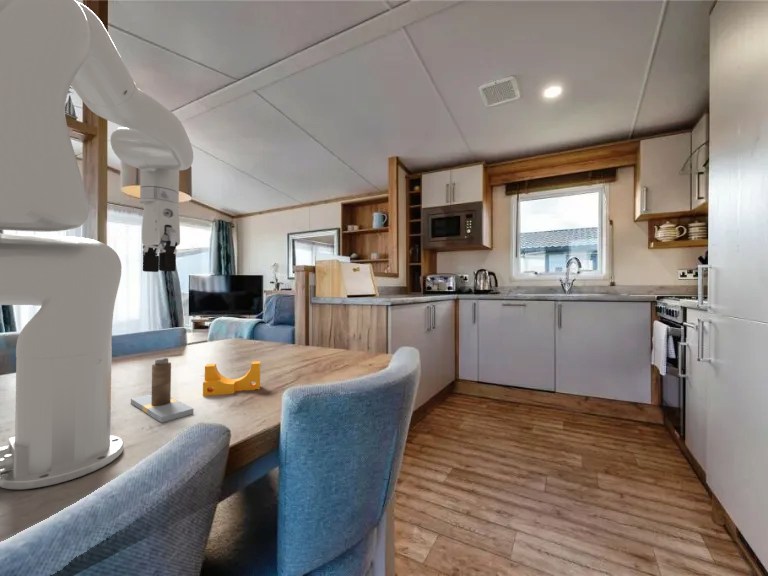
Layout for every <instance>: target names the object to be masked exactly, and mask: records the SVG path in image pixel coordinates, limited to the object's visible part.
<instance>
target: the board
mask: <svg viewBox="0 0 768 576" xmlns="http://www.w3.org/2000/svg"><path fill="white" fill-rule="evenodd" d="M151 401H152V393H151V394H150V393H149V394H146V395H145V394H144V395H141V396H137V397H136V396H135V397H131V398H130V404H131V405H133V406H134V407H136V408H138V409H140V410H141V411H142V412H144V413H145V414H147V415H148V416H150V417H152V418H153V419H154V420H156V421H158V422H159V423H161V424H162V423H165V422H166V423H167V422H169V421H172V420H176V419H179V418H182V417H187V416H190V415H194V408H193V407H192V406H190V405H187V404H186V403H183V402H181V401H179V400H178V399H175V398H173V397H171V400H170V403H169V404H166V405H162V406H152V405H151Z"/></svg>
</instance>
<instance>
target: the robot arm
mask: <svg viewBox="0 0 768 576" xmlns="http://www.w3.org/2000/svg"><path fill="white" fill-rule="evenodd" d="M70 87H71V88H72V89H73V90H74V91H75V93H76V94H77V96H79V98H80V99H81V101H82V102H83V104H85V106H86V107H87V108H88V109H89V110H90V111H91V112H92V113H94V114H95V115H96V116H98V117H100V118H102V119H104V120H106V121H109V122H111V123H112V124H113V123H114V124H116V125H118V126H121V127H118V128H116V129H115V130H113V131H112V133H111V135H110V145H111V149H112V151H113V153H114V154H115V155H116V157H117V158H118V159H119V160H120V161H122V163H125V164H126V165H129V166H130V167H134V168H136V169H139V170H140V180H139V181H140V189H139V191H140V192H139V203H140V204H141V205H143V211H142V223H141V224H142V225H141V242H142V249H143V250H142V271H143V272H147V273H149V272H150V273H158V272H159V271H160V272H176V270H177V269H176V268H177V266H176V265H177V264H176V263H177V247H179V245H180V244H181V228H180V214H179V204H180V203H179V201H180V194H179V193H180V171H185V170H188V169H189V168H191V166H192V164H193V162H194V150H193V146H192V144H191V141H190V138H189V136H188V134H187V132H186V130H185V127H184V124H183V123H182V122H181V120H180V118H179V117H177V116H176V115H175V113H173V112H172V111H171V110H169V109H168V108H167V107H166V106H164V105H163V104H162V103H160V101H158V100H156V99H155V98H153V97H152V96H150V95H149V94H147V93H146V92H145V91H143V90H142V89H140V88H138V86H137V84H136V82H135V81H134V78H133V77H132V75H131V72H129V69H128V68H127V66H126V64H125V61H124V60H123V58H122V56H121V54H120V53H119V51H118V49H117V47H116V46H115V44H114V42H113V40H112V38H111V36H110V35H109V32H108V31H107V29H106V27H105V25H104V24H103V22H102V21H101V19H100V18H99V17H98V16H97V14H96V13H94V12H93V10H91V9H90V8H89V7H87V6H86V5H84V4H83V3H82V2H79V1H78V0H0V230H1V231H13V232H14V231H17V232H18V231H19V232H43V233H44V232H46V233H47V232H48V233H49V232H65V231H72V230H75V229H77V228H80V227H82V225H84V224H85V223H86V222H87V220H88V217H89V211H90V210H89V208H90V207H89V201H88V197H87V192H86V188H85V184H84V182H83V178H82V173H81V171H80V167H79V163H78V160H77V156H76V153H75V149H74V147H73V143H72V139H71V136H70V135H71V134H70V132H69V131H70V130H69V127H68V123H67V118H66V103H67V97H68V92H69V90H70ZM159 251H160V252H159ZM121 278H122V262H121V259H120V256H119V255H118V253H117V252H116V251H115V250H114V249H113V248H112V247H111V246H109V245H107V244H106V243H104V242H101V241H98V240H95V239H91V238H87V237H86V238H85V237H78V236H65V235H62V236H61V235H48V234H47V235H46V234H19V233H18V234H16V233H13V234H12V233H2V232H0V306H39V307H40V306H41V307H40V308H39V310H38V311H37V312H36V313H35V314H34V315H33V316H32V318H31V319H29V321H28V322H27V323H26V324H25V325H24V327H23V328H22V330H21V331H20V333H19V335H18V336H17V340H16V347H15V358H16V361H15V364H16V365H15V369H16V370H15V423H14V426H15V427H14V433H15V434H14V436H11V437H9V438H8V444H6V445H3V446H0V488H3V489H7V490H29V489H31V490H32V489H38V488H42V487H48V486H53V485H57V484H62V483H64V482H68V481H71V480H74V479H76V478H80V477H83V476H86V475H88V474H90V473H93V472H95V471H97V470H99V469H102V468H103V467H105V466H106V465H109V464H110V463H112V462H113V461H115V460H117V458H118V457H119V456H120V455H121V454H122V453H123V450H124V441H123V439H122V437H121V438H120V437H119V436H116V435H111V425H112V424H111V423H112V422H111V420H112V419H111V417H112V416H111V414H112V413H111V410H112V361H113V360H112V354H113V352H112V351H113V349H112V346H113V345H112V341H113V339H112V338H113V320H114V311H115V303H116V300H117V294H118V291H119V287H120V284H121Z"/></svg>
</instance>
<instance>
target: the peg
mask: <svg viewBox="0 0 768 576" xmlns="http://www.w3.org/2000/svg"><path fill="white" fill-rule="evenodd" d="M154 360H155V361H154V363H152V364H151V394H152V401H151V405H152V406H162V405H166V404H169V403H170V400H171V395H172V394H171V391H172V389H171V386H172V385H171V383H172V362H169V358H168V357H160V358H156V359H154Z"/></svg>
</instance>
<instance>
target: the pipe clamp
mask: <svg viewBox="0 0 768 576" xmlns="http://www.w3.org/2000/svg"><path fill="white" fill-rule="evenodd" d="M252 382H254V383H252ZM255 389H258V390H260V389H261V360H259V361H257V360H256V361H251V366H250V369H249V370H248V372H247V373H245V375H243V376H240V377H239V378H234V379H233V378H228V377H225V376H223V375H222V374H221V373H220V372H219V370H218V368H217V363H207V364H206V365H205V366H204V380H203V382H202V396H203V397H207V396H217V395H218V396H219V395H221V396H222V395H233V393H234V394H235V392H243V391H242V390H245V391H255Z"/></svg>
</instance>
